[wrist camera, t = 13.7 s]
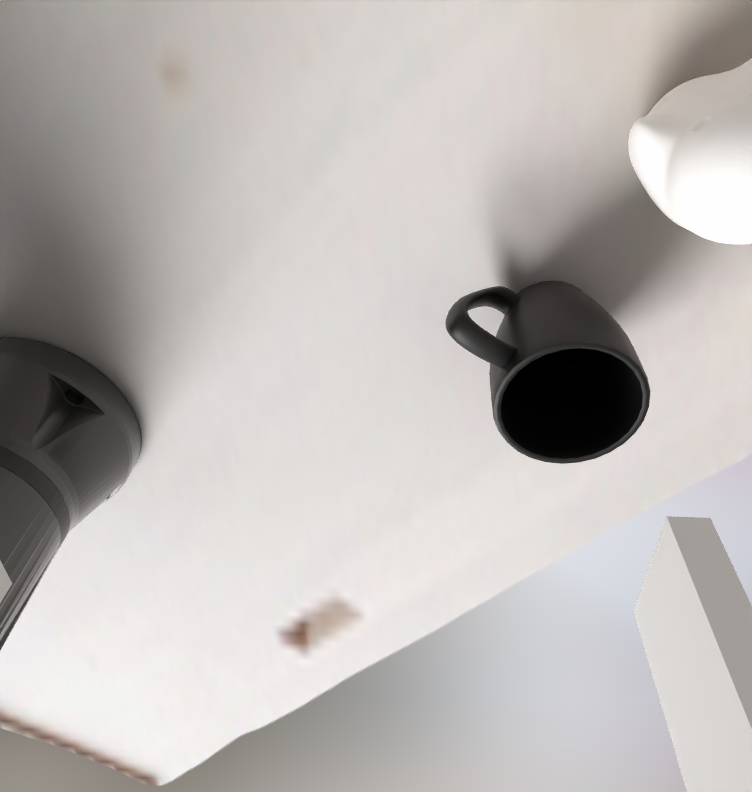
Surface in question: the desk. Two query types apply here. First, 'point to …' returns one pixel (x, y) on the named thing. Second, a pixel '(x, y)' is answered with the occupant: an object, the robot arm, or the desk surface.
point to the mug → (556, 371)
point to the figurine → (700, 155)
